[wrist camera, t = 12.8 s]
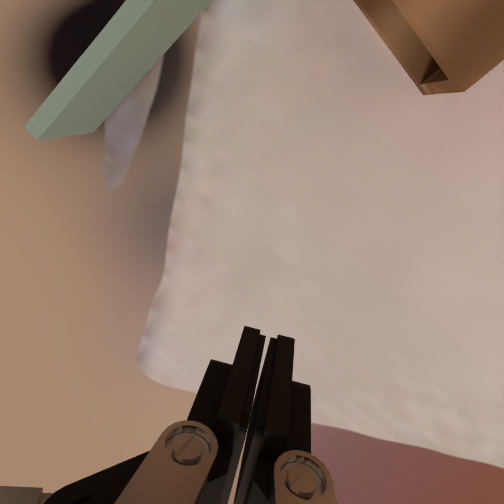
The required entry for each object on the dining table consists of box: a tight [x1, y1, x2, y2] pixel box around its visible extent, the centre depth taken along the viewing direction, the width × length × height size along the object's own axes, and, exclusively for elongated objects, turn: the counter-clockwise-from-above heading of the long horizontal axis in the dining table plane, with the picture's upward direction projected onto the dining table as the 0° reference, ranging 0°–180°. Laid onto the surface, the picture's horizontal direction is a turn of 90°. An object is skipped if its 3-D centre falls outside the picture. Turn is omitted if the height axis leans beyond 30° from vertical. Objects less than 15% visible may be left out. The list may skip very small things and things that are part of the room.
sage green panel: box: [24, 0, 212, 140], centre depth 27 cm, size 23×2×8 cm, turn 131°
